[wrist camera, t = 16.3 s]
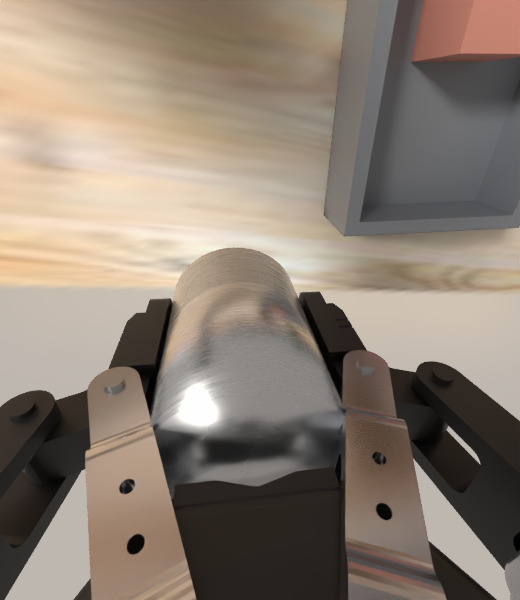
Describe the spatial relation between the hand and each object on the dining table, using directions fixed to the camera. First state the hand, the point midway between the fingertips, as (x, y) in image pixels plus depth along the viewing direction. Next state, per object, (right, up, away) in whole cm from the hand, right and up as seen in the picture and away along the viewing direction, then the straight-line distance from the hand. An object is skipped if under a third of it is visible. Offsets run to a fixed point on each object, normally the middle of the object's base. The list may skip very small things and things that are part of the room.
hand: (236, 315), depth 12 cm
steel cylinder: (0, +1, +1) cm, 1 cm away
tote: (+13, +16, +10) cm, 23 cm away
